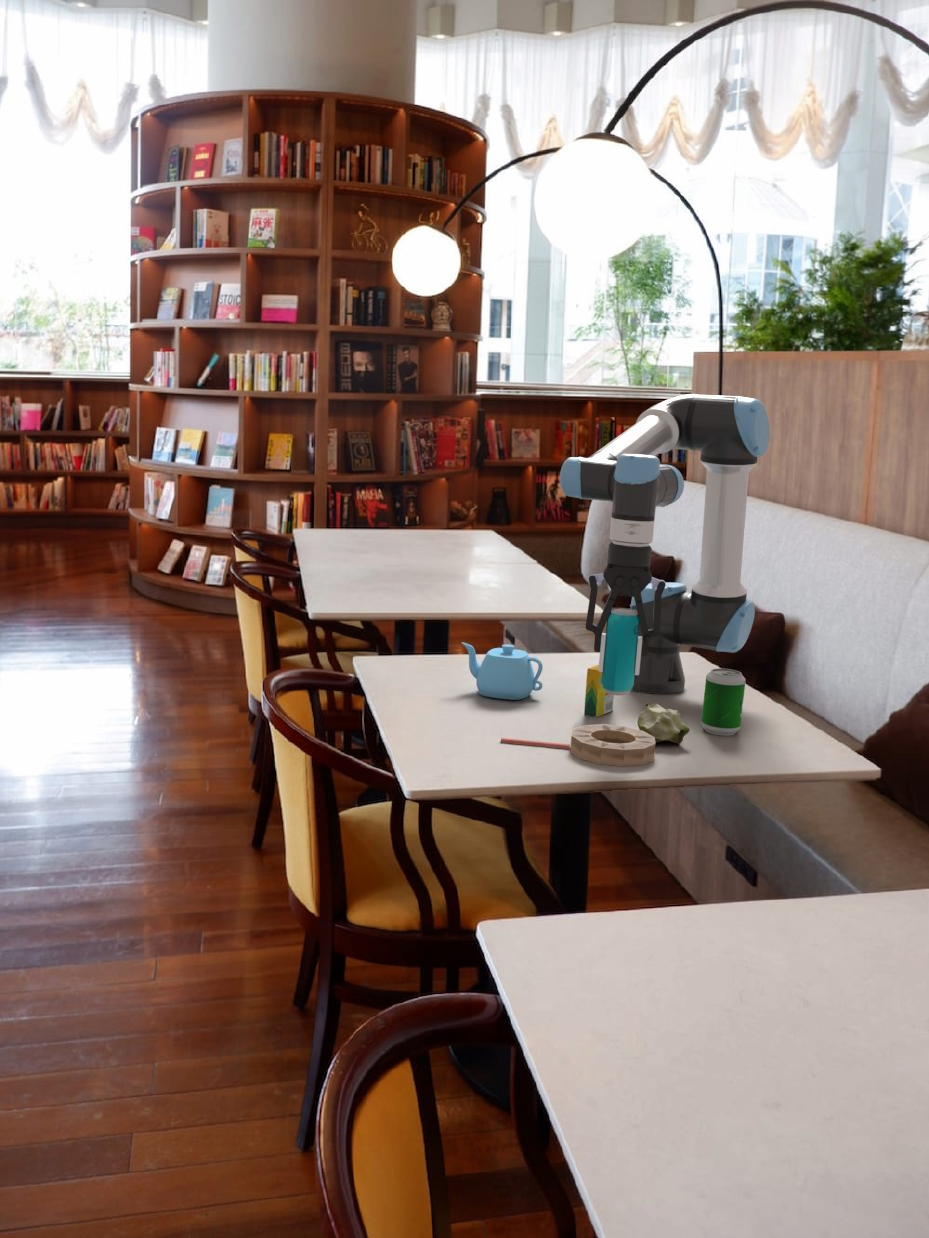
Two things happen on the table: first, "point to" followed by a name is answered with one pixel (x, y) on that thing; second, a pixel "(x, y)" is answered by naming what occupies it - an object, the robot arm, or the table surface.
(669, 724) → the fruit
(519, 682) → the teapot
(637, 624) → the beverage can
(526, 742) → the stick
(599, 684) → the crayon box
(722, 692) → the soda can
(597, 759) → the tan flat ring
